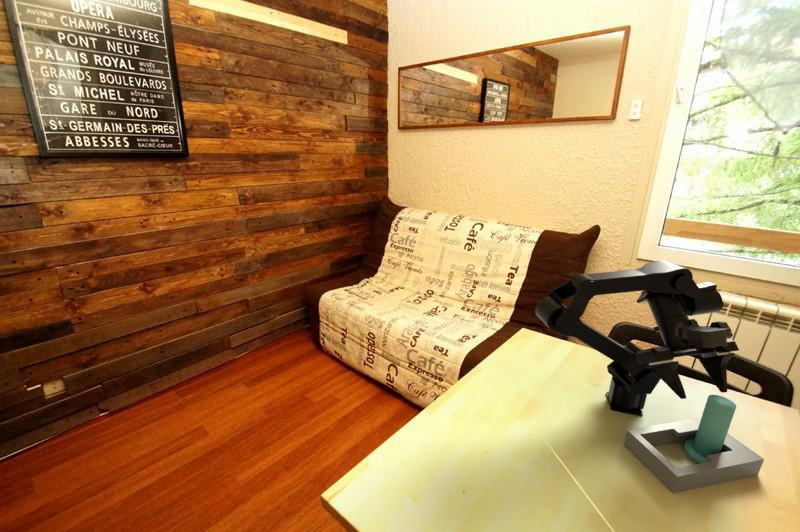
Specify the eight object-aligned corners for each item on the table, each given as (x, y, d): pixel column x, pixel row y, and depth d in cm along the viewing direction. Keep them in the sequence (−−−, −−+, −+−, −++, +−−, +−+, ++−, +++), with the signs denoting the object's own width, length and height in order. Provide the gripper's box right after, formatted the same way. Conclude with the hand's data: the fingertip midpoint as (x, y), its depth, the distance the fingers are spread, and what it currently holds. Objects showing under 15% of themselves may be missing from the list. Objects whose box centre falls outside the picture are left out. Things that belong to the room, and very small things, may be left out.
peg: (676, 449, 71) (692, 396, 67) (694, 439, 74) (711, 387, 70) (714, 474, 66) (734, 418, 62) (732, 462, 68) (752, 407, 64)
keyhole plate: (672, 493, 62) (677, 476, 61) (623, 444, 72) (627, 429, 71) (757, 474, 66) (764, 459, 64) (699, 431, 76) (704, 416, 75)
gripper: (661, 313, 67) (698, 400, 61) (745, 303, 69) (788, 386, 63) (622, 326, 77) (650, 402, 71) (697, 317, 79) (730, 390, 74)
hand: (704, 395), depth 70 cm, fingers open, 9 cm apart
